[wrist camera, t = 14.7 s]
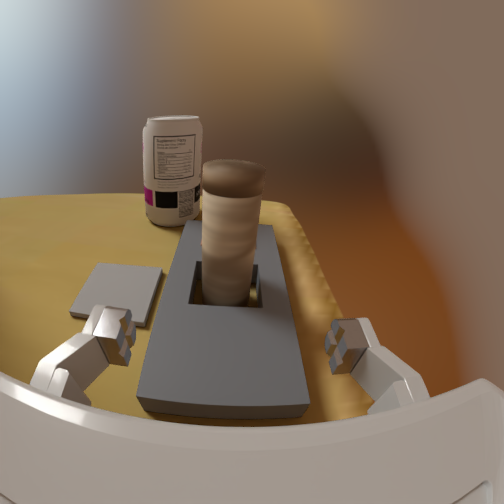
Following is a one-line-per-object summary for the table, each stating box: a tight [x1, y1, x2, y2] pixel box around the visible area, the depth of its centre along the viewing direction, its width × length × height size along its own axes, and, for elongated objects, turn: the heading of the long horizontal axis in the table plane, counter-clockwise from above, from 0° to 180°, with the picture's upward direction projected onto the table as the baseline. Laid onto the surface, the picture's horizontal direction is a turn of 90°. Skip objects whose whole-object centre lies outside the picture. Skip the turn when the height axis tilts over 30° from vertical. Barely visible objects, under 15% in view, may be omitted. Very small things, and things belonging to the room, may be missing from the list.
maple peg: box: [202, 159, 266, 307], centre depth 22 cm, size 4×4×13 cm
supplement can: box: [143, 115, 203, 227], centre depth 36 cm, size 8×8×15 cm
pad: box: [69, 263, 162, 327], centre depth 25 cm, size 8×8×1 cm
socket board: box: [136, 220, 310, 419], centre depth 25 cm, size 24×11×3 cm, turn 3°
